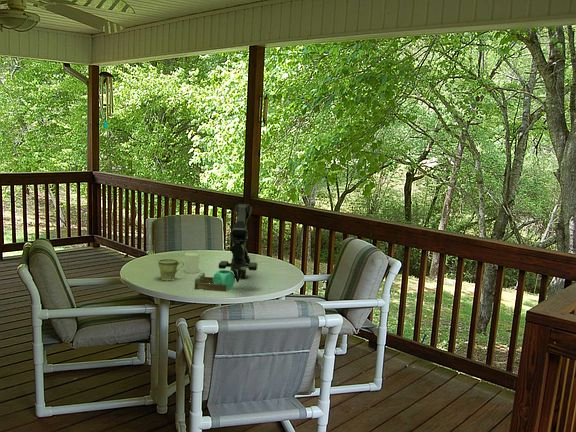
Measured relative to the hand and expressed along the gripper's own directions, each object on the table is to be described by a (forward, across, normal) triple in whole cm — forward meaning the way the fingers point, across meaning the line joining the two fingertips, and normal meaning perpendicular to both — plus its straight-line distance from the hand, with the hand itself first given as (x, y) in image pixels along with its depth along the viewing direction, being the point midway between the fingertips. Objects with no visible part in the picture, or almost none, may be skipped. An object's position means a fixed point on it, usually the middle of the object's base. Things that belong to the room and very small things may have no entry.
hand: (237, 282), depth 276 cm
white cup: (+3, -30, +27) cm, 41 cm away
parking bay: (+3, -12, 0) cm, 13 cm away
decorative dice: (+3, -7, 0) cm, 8 cm away
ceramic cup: (+3, -36, +8) cm, 37 cm away
